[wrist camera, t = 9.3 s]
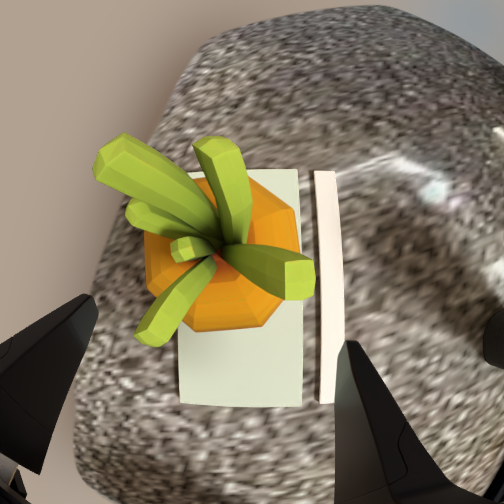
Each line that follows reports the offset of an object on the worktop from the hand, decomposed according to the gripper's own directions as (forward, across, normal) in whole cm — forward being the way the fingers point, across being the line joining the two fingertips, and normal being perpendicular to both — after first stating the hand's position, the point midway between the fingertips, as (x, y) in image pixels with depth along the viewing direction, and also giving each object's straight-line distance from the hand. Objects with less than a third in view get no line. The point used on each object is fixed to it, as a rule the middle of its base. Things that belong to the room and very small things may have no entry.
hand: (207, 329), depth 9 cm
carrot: (+8, 0, +5) cm, 9 cm away
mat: (+8, 0, +5) cm, 10 cm away
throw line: (+9, -6, +5) cm, 12 cm away
